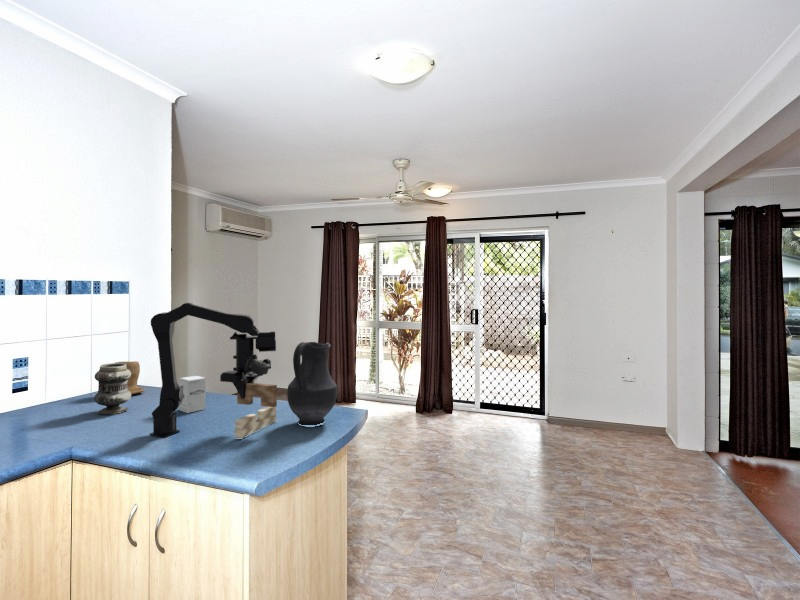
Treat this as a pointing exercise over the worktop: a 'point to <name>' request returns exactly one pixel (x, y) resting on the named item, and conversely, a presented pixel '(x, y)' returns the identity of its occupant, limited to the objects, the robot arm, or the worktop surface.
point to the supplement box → (193, 394)
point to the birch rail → (254, 421)
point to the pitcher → (311, 384)
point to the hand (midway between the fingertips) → (245, 397)
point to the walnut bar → (259, 394)
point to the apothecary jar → (112, 387)
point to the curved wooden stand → (133, 376)
